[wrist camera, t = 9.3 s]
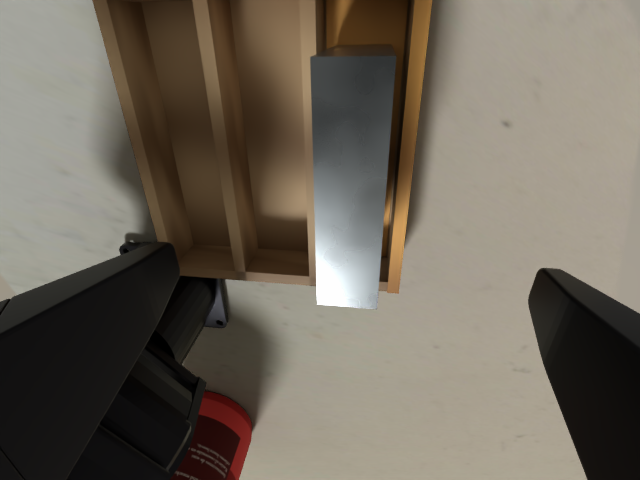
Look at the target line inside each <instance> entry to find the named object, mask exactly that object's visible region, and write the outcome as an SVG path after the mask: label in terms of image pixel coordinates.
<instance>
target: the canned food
mask: <svg viewBox="0 0 640 480" xmlns="http://www.w3.org/2000/svg"><path fill="white" fill-rule="evenodd" d="M251 436H252V424H251V420H250V418H249V416H248V415H247V413H246V412H245V411H244V409H243V408H241V407H240V406H239V405H238V404H237V403H235V402H234V401H233V400H231V399H229V398H227V397H225V396H222V395H220V394H217V393H213V392H206V391H204V394H203V398H202V402H201V406H200V410H199V414H198V418H197V422H196V426H195V430H194V434H193V438H192V441H191V444H190V447H189V449H188V451H187V454H186V456H185V457H184V459H183V461H182V463H181V464H180V466H179V467H178V469H177V470H176V472H175V473H174V475H173V476H172V477H171V479H170V480H239V477H240V474H241V471H242V468H243V464H244V461H245V458H246V455H247V452H248V448H249V445H250V442H251Z"/></svg>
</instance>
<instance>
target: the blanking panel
mask: <svg viewBox="0 0 640 480" xmlns="http://www.w3.org/2000/svg"><path fill="white" fill-rule="evenodd" d="M395 68H396V54H395V52H394V49H393V47H392V44H363V45H335V46H333V47H331V48H328V49H326V50H324V51H322V52H320V53H317V54H315V55H313V56H311V57H310V70H311V106H312V142H313V178H314V213H315V249H316V285H317V304H318V305H330V306H343V307H355V308H367V309H377V303H378V290H379V276H380V263H381V250H382V237H383V224H384V211H385V198H386V185H387V172H388V159H389V146H390V133H391V120H392V107H393V94H394V81H395Z"/></svg>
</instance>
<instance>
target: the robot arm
mask: <svg viewBox="0 0 640 480" xmlns="http://www.w3.org/2000/svg"><path fill="white" fill-rule="evenodd" d="M127 249H128V250H129V251H130V252H129V251H128V250H127ZM119 250H120V254H121V255H120V256H118V257H115V258H112V259H110V260H107V261H105V262H102V263H99V264H97V265H94V266H92V267H89V268H87V269H84V270H81V271H79V272H76V273H74V274H71V275H68V276H66V277H63V278H61V279H58V280H55V281H53V282H50V283H48V284H45V285H43V286H40V287H37V288H35V289H32V290H30V291H27V292H24V293H22V294H19V295H17V296H14V297H12V298H11V299H6V300H4V301H1V302H0V480H170V479H171V477H172V476H173V475H174V473H175V472H176V470H177V469H178V467H179V466H180V464H181V463H182V461H183V459H184V457H185V456H186V454H187V451H188V449H189V447H190V444H191V441H192V438H193V434H194V430H195V426H196V422H197V418H198V414H199V410H200V406H201V402H202V398H203V394H204V390H205V386H206V382H205V381H204V380H202V379H201V378H200V377H196V376H195V375H194V374H192V373H191V372H190V371H189V370H187V369H186V368H185V367H184V366H182V365H181V364H182V363H183V361H184V359H185V358H186V356H187V354H188V353H189V351H190V349H191V348H192V346H193V344H194V342H195V341H196V339H197V337H198V336H199V334H200V332H201V331H202V329H203V327H215V328H224V327H225V326H226V325H227V323H228V315H227V309H226V304H225V298H224V293H223V288H222V282H221V279H219V278H206V277H193V276H180V267H179V263H178V259H177V255H176V251H175V248H174V246H173V244H172V243H170V242H154V243H151V242H143V243H133V242H126V243H124V244H123V245H122V246H121V247H120V249H119ZM528 305H529V310H530V314H531V318H532V322H533V326H534V330H535V334H536V338H537V342H538V346H539V350H540V354H541V357H542V361H543V364H544V367H545V370H546V373H547V375H548V378H549V381H550V383H551V386H552V388H553V391H554V394H555V396H556V399H557V401H558V404H559V407H560V409H561V412H562V414H563V417H564V420H565V422H566V425H567V428H568V430H569V433H570V435H571V438H572V441H573V443H574V446H575V448H576V451H577V454H578V456H579V459H580V461H581V464H582V467H583V469H584V472H585V474H586V477H587V480H640V314H639V313H637V312H636V311H634V310H632V309H630V308H629V307H627V306H625V305H623V304H621V303H620V302H618V301H616V300H614V299H613V298H611V297H609V296H607V295H606V294H604V293H602V292H600V291H598V290H597V289H595V288H593V287H591V286H589V285H588V284H586V283H584V282H582V281H581V280H579V279H577V278H575V277H573V276H572V275H570V274H568V273H566V272H565V271H563V270H561V269H553V268H541V269H540V270H539V271H538V272H537V274H536V277H535V280H534V283H533V286H532V289H531V291H530V294H529V299H528ZM220 320H221V321H220Z"/></svg>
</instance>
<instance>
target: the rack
mask: <svg viewBox="0 0 640 480" xmlns="http://www.w3.org/2000/svg"><path fill="white" fill-rule="evenodd" d="M93 4H94V8H95V11H96V15H97V19H98V22H99V26H100V30H101V33H102V37H103V41H104V45H105V48H106V52H107V56H108V59H109V63H110V67H111V70H112V74H113V78H114V81H115V85H116V89H117V92H118V96H119V100H120V103H121V107H122V111H123V115H124V118H125V122H126V126H127V129H128V133H129V137H130V140H131V144H132V148H133V151H134V155H135V159H136V162H137V166H138V170H139V174H140V177H141V181H142V185H143V188H144V192H145V196H146V199H147V203H148V207H149V210H150V214H151V218H152V221H153V225H154V229H155V233H156V236H157V240H158V242H170V243H172V244H173V246H174V248H175V251H176V255H177V259H178V263H179V267H180V276H193V277H206V278H219V279H232V280H245V281H258V282H271V283H284V284H297V285H310V286H317V285H316V249H315V213H314V178H313V142H312V106H311V70H310V57H311V56H313V55H315V54H317V53H320V52H322V51H324V50H326V49H328V48H331V47H333V46H335V45H363V44H392V47H393V49H394V52H395V54H396V68H395V81H394V94H393V107H392V120H391V133H390V146H389V159H388V172H387V185H386V198H385V211H384V224H383V237H382V250H381V263H380V276H379V290H378V291H387V293H398V294H399V285H400V277H401V268H402V259H403V251H404V242H405V233H406V224H407V216H408V207H409V198H410V189H411V181H412V172H413V163H414V155H415V146H416V137H417V128H418V120H419V111H420V102H421V93H422V85H423V76H424V67H425V59H426V50H427V41H428V32H429V24H430V15H431V6H432V0H93Z"/></svg>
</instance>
